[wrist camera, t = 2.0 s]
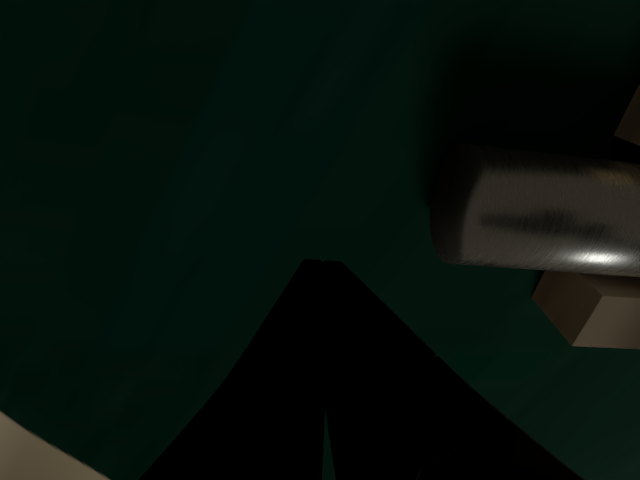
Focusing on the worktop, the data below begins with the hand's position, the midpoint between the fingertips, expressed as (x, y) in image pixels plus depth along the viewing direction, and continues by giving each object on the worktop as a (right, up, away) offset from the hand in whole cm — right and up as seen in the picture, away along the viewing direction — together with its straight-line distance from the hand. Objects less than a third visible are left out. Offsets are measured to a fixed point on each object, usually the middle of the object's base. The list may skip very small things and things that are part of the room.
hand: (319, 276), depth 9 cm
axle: (+11, +1, +5) cm, 13 cm away
